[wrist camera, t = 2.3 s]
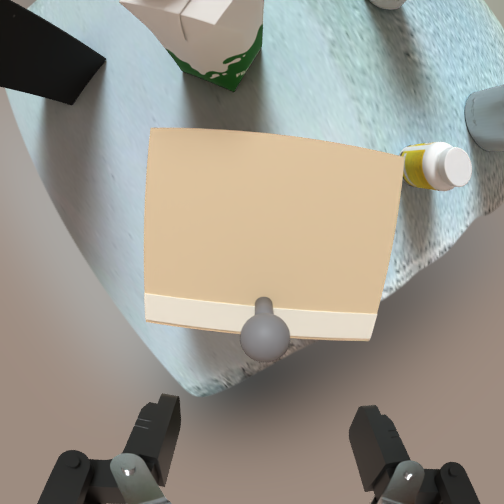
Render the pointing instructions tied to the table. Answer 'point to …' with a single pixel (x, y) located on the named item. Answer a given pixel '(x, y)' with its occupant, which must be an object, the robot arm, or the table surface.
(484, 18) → the table surface
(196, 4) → the milk carton
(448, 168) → the supplement bottle
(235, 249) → the flap
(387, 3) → the energy drink can
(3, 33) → the tall black box
